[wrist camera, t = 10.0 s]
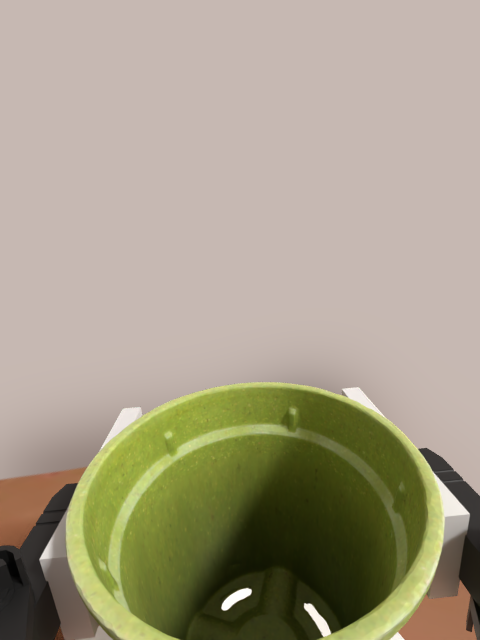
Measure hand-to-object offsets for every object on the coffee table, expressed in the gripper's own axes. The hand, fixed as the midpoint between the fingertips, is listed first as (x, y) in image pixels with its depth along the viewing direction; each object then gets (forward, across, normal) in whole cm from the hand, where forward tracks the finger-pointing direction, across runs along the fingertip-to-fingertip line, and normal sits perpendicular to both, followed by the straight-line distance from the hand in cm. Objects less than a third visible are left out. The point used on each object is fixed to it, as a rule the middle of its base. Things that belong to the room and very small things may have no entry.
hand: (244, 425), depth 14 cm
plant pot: (-5, 0, -7) cm, 8 cm away
